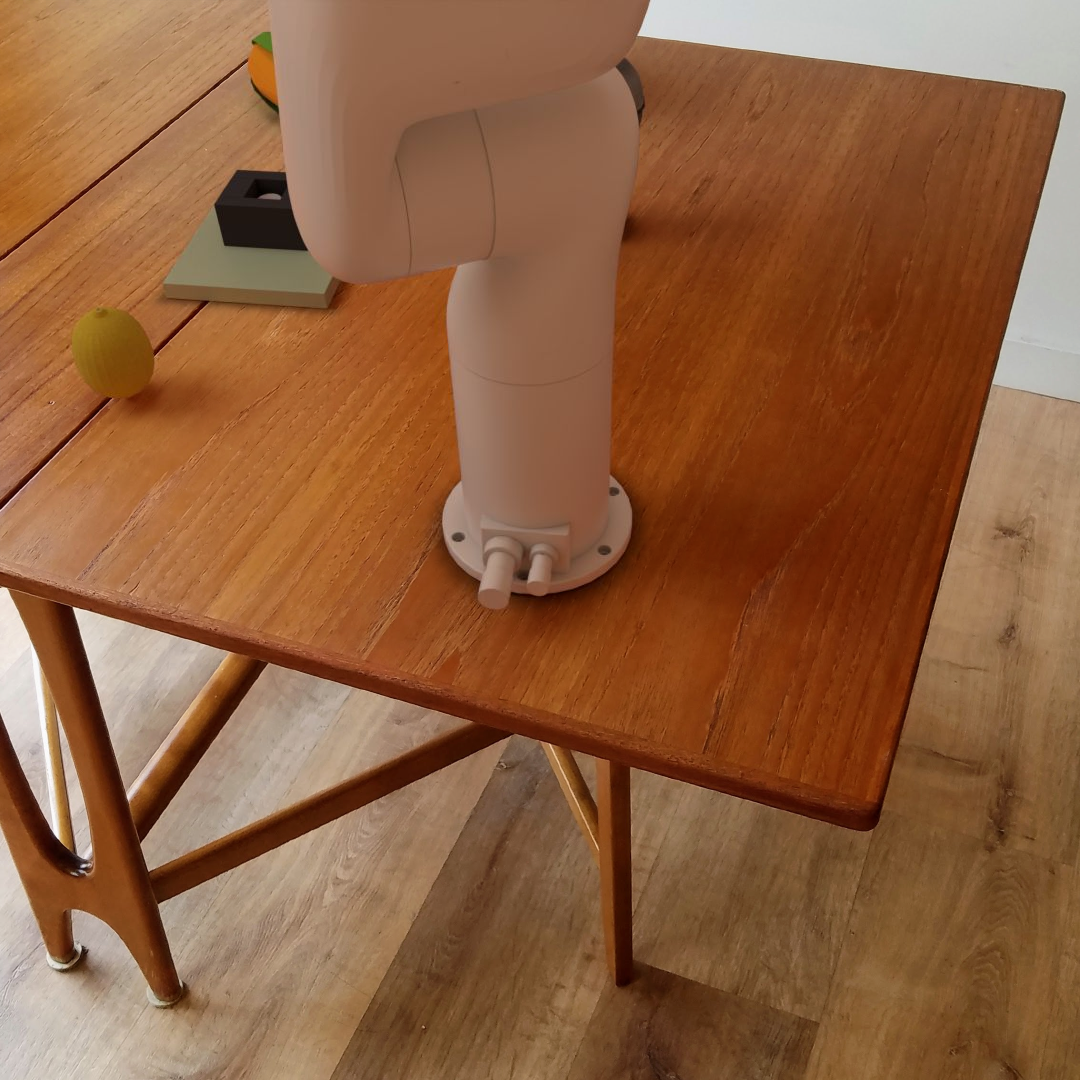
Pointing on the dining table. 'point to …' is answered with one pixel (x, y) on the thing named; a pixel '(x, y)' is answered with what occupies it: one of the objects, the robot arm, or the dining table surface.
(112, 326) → the lemon
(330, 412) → the dining table surface
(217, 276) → the base pad
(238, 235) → the black hollow block
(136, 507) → the dining table surface
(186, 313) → the dining table surface
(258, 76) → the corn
